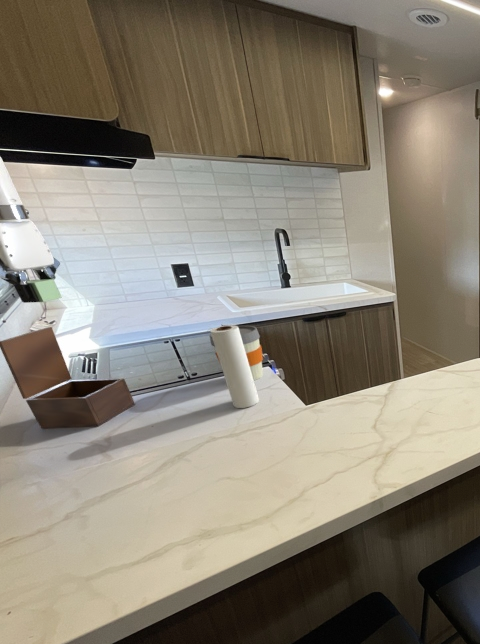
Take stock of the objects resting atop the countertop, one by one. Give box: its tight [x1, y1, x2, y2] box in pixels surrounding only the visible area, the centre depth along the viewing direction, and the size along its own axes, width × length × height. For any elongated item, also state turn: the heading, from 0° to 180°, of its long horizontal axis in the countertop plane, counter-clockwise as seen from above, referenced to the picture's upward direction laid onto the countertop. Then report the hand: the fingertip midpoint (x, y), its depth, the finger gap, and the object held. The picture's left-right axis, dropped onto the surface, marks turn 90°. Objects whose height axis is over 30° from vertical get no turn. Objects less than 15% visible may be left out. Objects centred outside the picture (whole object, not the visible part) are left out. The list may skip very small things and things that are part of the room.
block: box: [27, 279, 62, 303], centre depth 92 cm, size 4×4×4 cm
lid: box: [0, 326, 73, 400], centre depth 97 cm, size 14×12×1 cm
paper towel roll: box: [209, 324, 260, 409], centre depth 105 cm, size 7×6×21 cm
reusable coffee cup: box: [208, 325, 264, 382], centre depth 122 cm, size 13×13×15 cm
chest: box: [25, 378, 136, 429], centre depth 102 cm, size 14×12×8 cm
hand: (42, 298), depth 93 cm, fingers closed on block, 4 cm apart
